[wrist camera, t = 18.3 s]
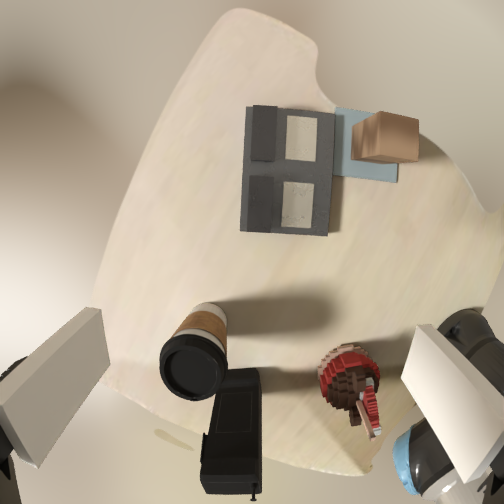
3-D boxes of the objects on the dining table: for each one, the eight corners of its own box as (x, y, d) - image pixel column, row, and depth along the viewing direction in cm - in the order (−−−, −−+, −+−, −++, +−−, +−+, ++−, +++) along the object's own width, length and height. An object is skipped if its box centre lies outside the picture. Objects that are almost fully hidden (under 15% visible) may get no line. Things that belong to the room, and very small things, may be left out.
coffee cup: (186, 343, 48) (162, 401, 33) (178, 295, 46) (147, 344, 31) (237, 342, 48) (229, 403, 33) (232, 293, 46) (221, 344, 31)
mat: (395, 182, 41) (396, 182, 41) (332, 175, 41) (333, 174, 41) (397, 118, 39) (398, 118, 39) (335, 107, 39) (335, 107, 39)
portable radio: (218, 396, 50) (198, 512, 26) (212, 370, 49) (185, 490, 25) (262, 393, 50) (263, 513, 26) (258, 367, 49) (257, 491, 24)
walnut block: (382, 164, 40) (418, 161, 30) (350, 160, 40) (379, 154, 30) (383, 131, 39) (418, 119, 28) (351, 126, 39) (380, 111, 28)
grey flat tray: (324, 233, 43) (332, 240, 38) (240, 228, 43) (238, 235, 38) (331, 116, 39) (340, 109, 34) (246, 109, 39) (245, 101, 35)
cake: (316, 344, 47) (340, 419, 30) (370, 335, 47) (413, 402, 30) (317, 392, 50) (335, 468, 32) (366, 384, 49) (398, 453, 32)
